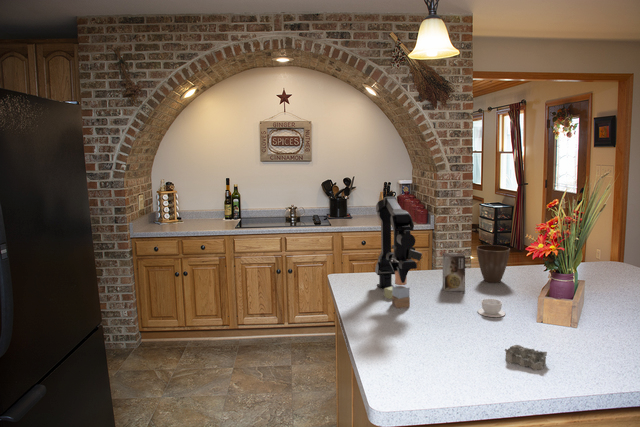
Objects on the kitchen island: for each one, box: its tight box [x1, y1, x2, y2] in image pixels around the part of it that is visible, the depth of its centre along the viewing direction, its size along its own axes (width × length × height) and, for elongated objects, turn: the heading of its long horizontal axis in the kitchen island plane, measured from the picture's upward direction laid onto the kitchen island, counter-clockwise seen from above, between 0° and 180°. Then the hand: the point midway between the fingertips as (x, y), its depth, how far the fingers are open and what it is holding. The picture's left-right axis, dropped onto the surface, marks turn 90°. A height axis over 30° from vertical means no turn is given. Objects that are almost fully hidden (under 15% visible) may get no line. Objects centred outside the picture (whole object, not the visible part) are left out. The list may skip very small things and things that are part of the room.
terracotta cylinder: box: [394, 270, 408, 286], centre depth 186 cm, size 5×5×5 cm
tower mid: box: [392, 284, 410, 299], centre depth 187 cm, size 5×5×4 cm
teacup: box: [477, 298, 506, 318], centre depth 176 cm, size 10×10×5 cm
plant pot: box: [476, 244, 511, 284], centre depth 218 cm, size 15×15×16 cm
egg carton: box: [504, 344, 548, 370], centre depth 136 cm, size 11×8×4 cm
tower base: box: [391, 295, 411, 309], centre depth 187 cm, size 6×6×4 cm
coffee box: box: [442, 252, 466, 292], centre depth 207 cm, size 9×6×16 cm
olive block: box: [383, 287, 392, 300], centre depth 198 cm, size 4×4×4 cm
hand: (400, 281), depth 186 cm, fingers closed on terracotta cylinder, 4 cm apart
